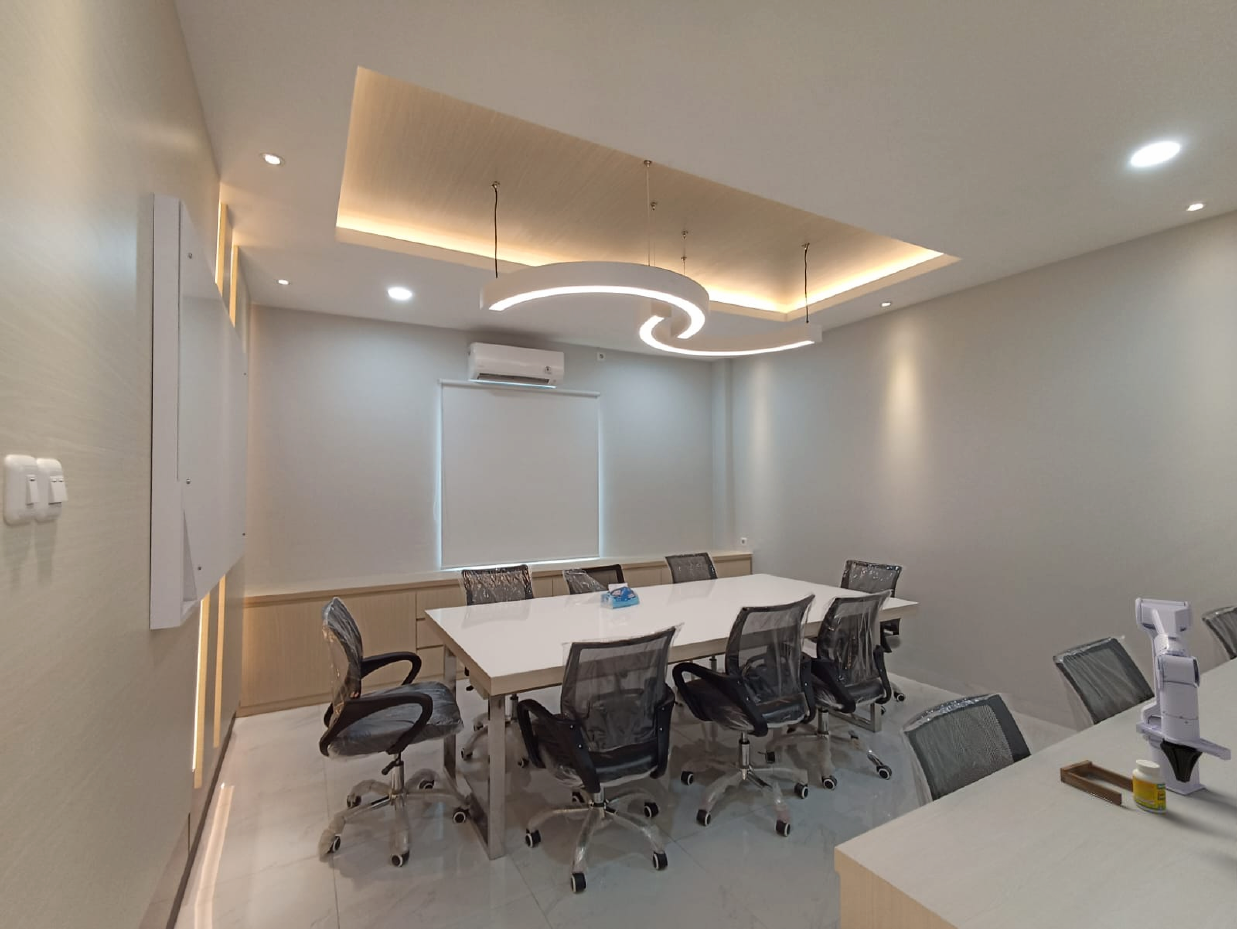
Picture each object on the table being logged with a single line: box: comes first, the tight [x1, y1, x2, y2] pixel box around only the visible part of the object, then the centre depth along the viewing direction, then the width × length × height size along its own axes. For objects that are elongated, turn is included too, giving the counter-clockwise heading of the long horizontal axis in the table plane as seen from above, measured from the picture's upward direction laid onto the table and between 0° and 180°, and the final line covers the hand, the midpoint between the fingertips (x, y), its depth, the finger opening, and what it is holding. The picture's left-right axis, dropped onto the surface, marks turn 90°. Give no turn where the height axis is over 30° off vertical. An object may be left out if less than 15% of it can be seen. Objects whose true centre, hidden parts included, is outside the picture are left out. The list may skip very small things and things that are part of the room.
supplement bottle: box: [1132, 759, 1167, 814], centre depth 127 cm, size 5×5×10 cm
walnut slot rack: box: [1059, 759, 1133, 806], centre depth 135 cm, size 11×12×3 cm
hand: (1183, 780), depth 118 cm, fingers closed
